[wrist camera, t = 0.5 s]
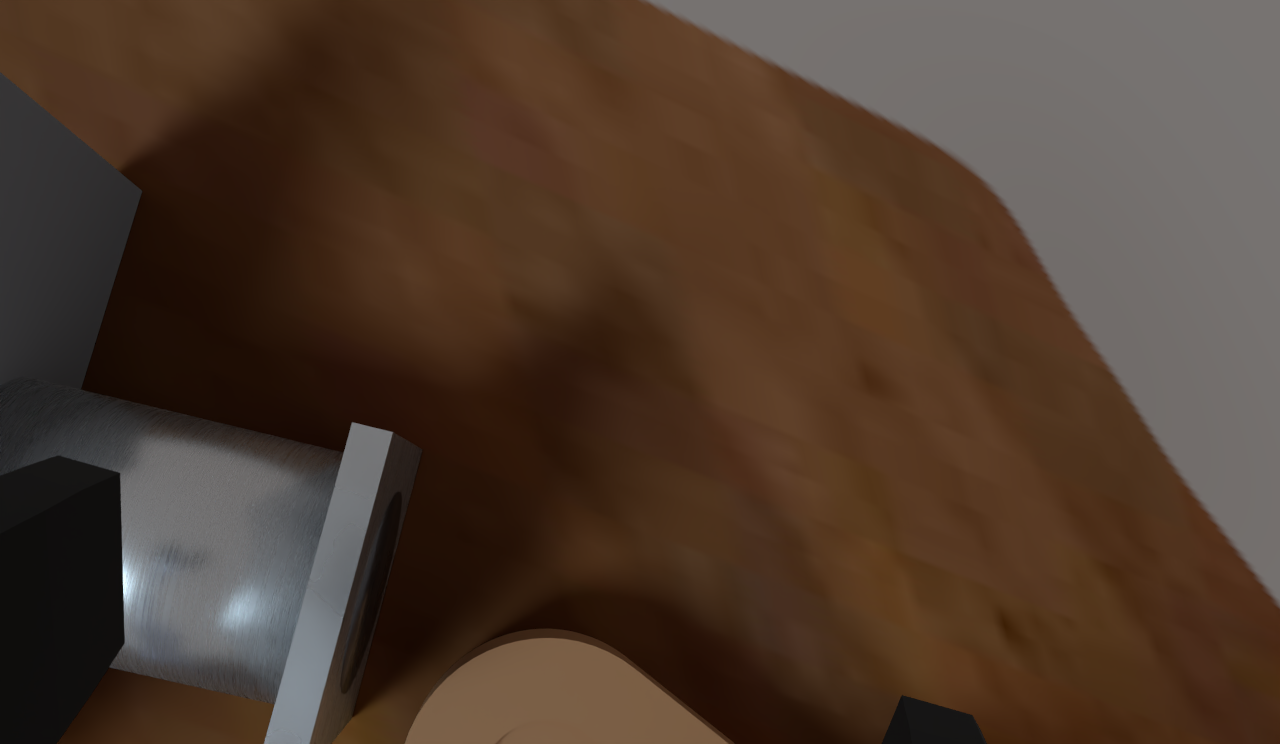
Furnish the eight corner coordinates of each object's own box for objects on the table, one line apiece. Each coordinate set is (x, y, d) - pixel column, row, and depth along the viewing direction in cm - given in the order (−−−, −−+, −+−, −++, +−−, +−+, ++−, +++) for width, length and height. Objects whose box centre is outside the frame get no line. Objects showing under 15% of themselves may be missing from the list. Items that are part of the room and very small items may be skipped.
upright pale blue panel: (301, 915, 34) (210, 1083, 24) (-101, 831, 33) (-366, 968, 23) (470, 274, 37) (451, 188, 27) (103, 181, 36) (-56, 56, 26)
